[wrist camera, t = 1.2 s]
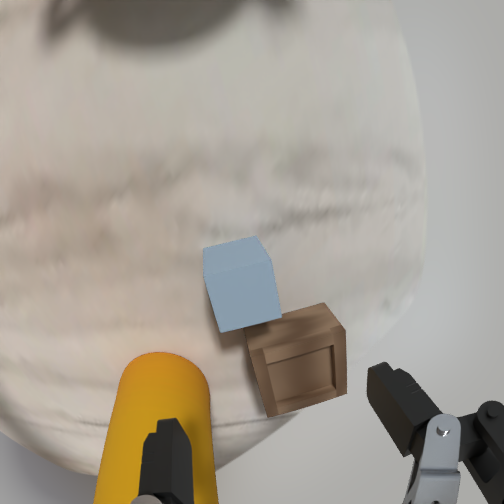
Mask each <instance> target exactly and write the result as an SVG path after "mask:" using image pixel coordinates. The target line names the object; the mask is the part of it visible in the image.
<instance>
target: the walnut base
mask: <svg viewBox="0 0 504 504" xmlns="http://www.w3.org/2000/svg"><path fill="white" fill-rule="evenodd" d="M243 328H244V332H245V336H246V341H247V345H248V349H249V353H250V357H251V361H252V364H253V368H254V371H255V375H256V379H257V382H258V386H259V389H260V393H261V396H262V400H263V403H264V407H265V410H266V414H267V417H268V418H269V417H273V416H277V415H280V414H284V413H288V412H291V411H295V410H298V409H302V408H305V407H308V406H311V405H315V404H318V403H321V402H324V401H327V400H330V399H333V398H336V397H339V396H341V395H344V394H347V359H346V331H345V329H344V328H343V326H342V325H341V324H340V322H339V321H338V320H337V318H336V317H335V316H334V315H333V313H332V312H331V311H330V309H329V308H328V307H327V305H326V304H325V303H320V304H317V305H313V306H310V307H306V308H303V309H299V310H296V311H292V312H288V313H285V314H282V318H278V319H274V320H271V321H267V322H263V323H259V324H255V325H251V326H247V327H243Z"/></svg>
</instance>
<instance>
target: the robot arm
mask: <svg viewBox="0 0 504 504" xmlns="http://www.w3.org/2000/svg"><path fill="white" fill-rule="evenodd" d="M367 397H368V400H369V403H370V404H371V406H372V408H373V409H374V411H375V412H376V414H377V416H378V417H379V419H380V420H381V422H382V424H383V425H384V427H385V428H386V430H387V432H388V433H389V435H390V436H391V438H392V439H393V441H394V443H395V444H396V446H397V448H398V449H399V451H400V453H401V454H402V456H403V457H406V456H408V455H410V454H412V455H413V457H414V458H415V459H414V462H413V467H412V471H411V475H410V479H409V483H408V487H407V491H406V495H405V498H404V501H403V503H402V504H456V503H457V497H458V491H459V485H460V472H459V471H458V470H457V466H458V462H460V461H463V463H464V464H465V466H466V467H467V469H468V471H469V472H470V474H471V475H472V477H473V479H474V480H475V482H476V484H477V485H478V487H479V489H480V490H481V492H482V494H483V495H484V497H485V498H486V500H487V502H488V504H504V405H502V404H501V403H500V402H497V401H487V402H485V403H483V404H482V405H481V406H480V408H479V409H478V411H477V412H476V413H473V414H469V415H466V416H463V417H455V416H453V415H450V414H443V413H442V412H441V411H440V410H439V408H438V407H437V406H436V405H435V404H434V403H433V401H432V400H431V399H430V398H429V397H428V395H427V394H426V393H425V392H424V391H423V390H422V389H421V387H420V386H419V384H418V383H416V381H415V380H414V379H413V377H412V376H411V375H410V374H409V373H407V372H405V371H403V370H402V369H400V368H399V369H396V370H393V369H392V368H391V367H390V366H389V364H388V363H387V362H382V363H380V364H377V365H375V366H372V367H370V368H368V376H367ZM142 454H143V455H142V460H141V462H142V464H141V470H140V480H139V492H138V496H137V497H136V498H135V499H133V500H132V501H131V503H130V504H194V489H193V466H192V447H191V443H190V440H189V438H188V436H187V434H186V433H185V431H184V429H183V428H182V426H181V424H180V423H179V421H178V419H177V418H169V419H161V420H158V421H157V427H156V432H154V433H149V434H148V436H147V438H146V439H145V441H144V443H143V451H142Z"/></svg>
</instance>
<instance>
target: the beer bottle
mask: <svg viewBox="0 0 504 504" xmlns="http://www.w3.org/2000/svg"><path fill="white" fill-rule="evenodd" d="M169 418H177V419H178V421H179V423H180V424H181V426H182V428H183V429H184V431H185V433H186V434H187V436H188V438H189V440H190V443H191V447H192V466H193V489H194V504H219V503H218V494H217V486H216V475H215V465H214V455H213V444H212V432H211V419H210V394H209V388H208V383H207V381H206V379H205V376H204V375H203V373H202V372H201V370H200V369H199V368H198V367H197V366H196V365H195V364H193V363H192V362H190V361H189V360H187V359H185V358H183V357H181V356H178V355H175V354H171V353H165V352H154V353H148V354H144V355H141V356H139V357H137V358H135V359H134V360H133V361H131V362H130V363H129V364H128V366H127V367H126V368H125V370H124V372H123V374H122V377H121V379H120V382H119V386H118V391H117V396H116V400H115V404H114V408H113V412H112V416H111V420H110V424H109V428H108V432H107V436H106V441H105V445H104V450H103V454H102V459H101V464H100V469H99V474H98V480H97V485H96V491H95V497H94V503H93V504H130V503H131V501H132V500H133V499H135V498H136V497H137V496H138V492H139V480H140V470H141V464H142V462H141V460H142V455H143V454H142V451H143V443H144V441H145V439H146V438H147V436H148V434H149V433H154V432H156V427H157V421H158V420H161V419H169Z"/></svg>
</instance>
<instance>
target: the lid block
mask: <svg viewBox="0 0 504 504" xmlns="http://www.w3.org/2000/svg"><path fill="white" fill-rule="evenodd" d="M203 276H204V280H205V283H206V287H207V290H208V294H209V297H210V301H211V304H212V307H213V311H214V314H215V317H216V320H217V324H218V327H219V330H220V333H222V332H227V331H231V330H235V329H239V328H243V327H247V326H251V325H255V324H259V323H263V322H267V321H271V320H274V319H278V318H282V314H281V308H280V303H279V298H278V292H277V287H276V282H275V276H274V271H273V266H272V261H271V258H270V257H269V255H268V254H267V252H266V250H265V249H264V247H263V246H262V244H261V242H260V241H259V239H258V238H257V236H252V237H248V238H244V239H240V240H236V241H232V242H228V243H223V244H219V245H215V246H211V247H207V248H203Z"/></svg>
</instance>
